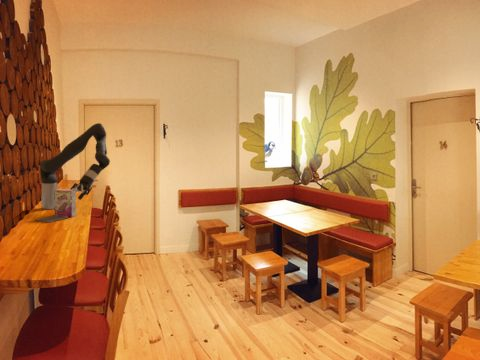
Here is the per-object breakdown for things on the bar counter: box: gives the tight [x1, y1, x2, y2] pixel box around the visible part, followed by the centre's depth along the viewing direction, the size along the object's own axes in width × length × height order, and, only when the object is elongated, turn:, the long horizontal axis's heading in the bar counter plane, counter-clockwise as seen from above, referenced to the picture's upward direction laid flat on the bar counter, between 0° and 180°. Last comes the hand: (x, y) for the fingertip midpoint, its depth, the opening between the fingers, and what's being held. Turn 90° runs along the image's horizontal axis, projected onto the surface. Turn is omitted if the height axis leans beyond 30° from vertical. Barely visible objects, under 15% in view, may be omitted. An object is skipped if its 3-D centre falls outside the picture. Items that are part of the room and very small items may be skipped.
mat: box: [34, 214, 69, 224], centre depth 197 cm, size 11×13×1 cm
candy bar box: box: [54, 188, 77, 218], centre depth 206 cm, size 11×5×16 cm, turn 84°
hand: (74, 198), depth 214 cm, fingers open, 8 cm apart
